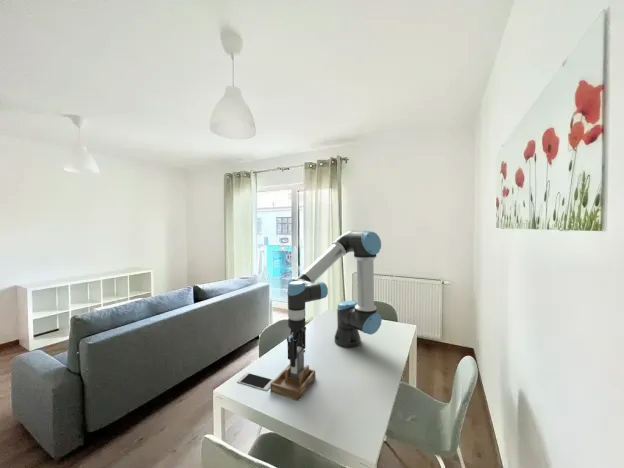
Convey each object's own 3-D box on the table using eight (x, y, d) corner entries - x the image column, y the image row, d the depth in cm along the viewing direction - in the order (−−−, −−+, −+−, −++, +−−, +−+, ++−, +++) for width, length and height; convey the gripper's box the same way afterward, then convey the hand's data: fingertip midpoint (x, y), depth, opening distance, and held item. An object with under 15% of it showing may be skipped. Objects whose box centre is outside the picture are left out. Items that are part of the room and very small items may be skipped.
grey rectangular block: (295, 372, 116) (294, 344, 115) (304, 375, 114) (303, 346, 113) (290, 378, 112) (289, 349, 111) (299, 380, 110) (299, 351, 109)
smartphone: (266, 392, 106) (266, 389, 106) (236, 383, 112) (236, 381, 112) (275, 382, 113) (275, 379, 113) (246, 374, 119) (246, 372, 119)
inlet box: (290, 371, 120) (289, 358, 120) (315, 378, 115) (315, 365, 114) (270, 391, 106) (270, 377, 105) (298, 400, 100) (298, 386, 100)
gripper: (298, 310, 121) (299, 358, 122) (278, 323, 105) (279, 378, 106) (313, 312, 118) (313, 361, 119) (294, 326, 102) (295, 383, 103)
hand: (297, 369), depth 113 cm, fingers closed on grey rectangular block, 4 cm apart
